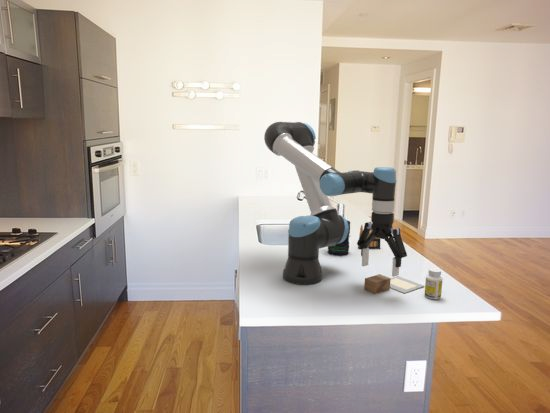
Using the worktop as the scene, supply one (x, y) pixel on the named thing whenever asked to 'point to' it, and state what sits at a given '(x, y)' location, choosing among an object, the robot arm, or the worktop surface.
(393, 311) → the worktop surface
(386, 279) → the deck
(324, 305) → the worktop surface
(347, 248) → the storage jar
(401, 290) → the mat
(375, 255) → the worktop surface
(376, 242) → the ammunition clip
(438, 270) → the supplement bottle
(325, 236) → the robot arm
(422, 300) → the worktop surface
